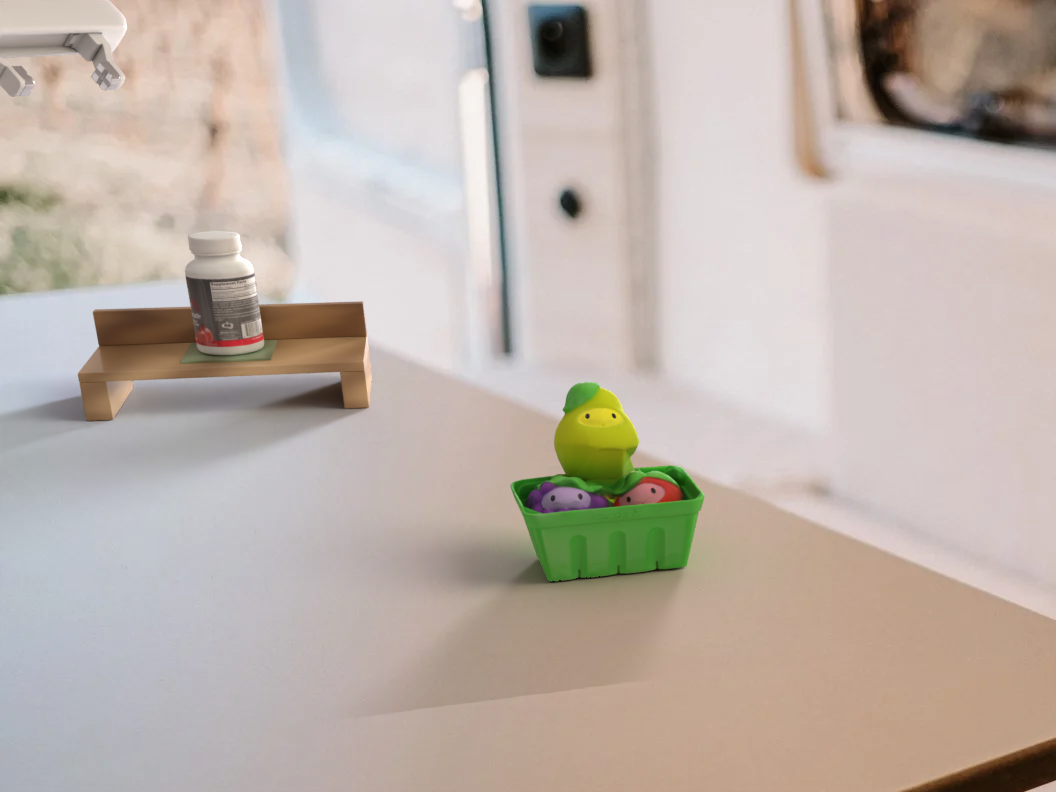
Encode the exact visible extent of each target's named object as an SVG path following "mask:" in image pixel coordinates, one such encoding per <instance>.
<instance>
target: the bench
mask: <svg viewBox="0 0 1056 792" xmlns="http://www.w3.org/2000/svg"><path fill="white" fill-rule="evenodd" d="M259 309H260V315H261V322H262V329H263V336H264V346H263V348H262V349H260V350H258V351H255V352H251V353H246V354H240V355H211V354H206V353H202V352H201V351H199V350H198V348H197V342H196V338H195V331H194V324H193V318H192V313H191V306H166V307H165V306H163V307H133V308H132V307H129V308H102V309H101V308H99V309H94V310H93V311H92V317H93V322H94V327H95V332H96V338H97V344H98V347H97V348H96V349H95V351H93V353H92V354H91V356H90V357H89V358H88V360H87V361H86V362H85V363H84V365H83V366H82V367H81V369H80V370H79V371H78V372H77V378H78V383H79V388H80V394H81V400H82V404H83V410H84V415H85V420H86V422H93V421H95V422H96V421H113V420H114V419H115V417H116V416H117V414H118V413H119V411H120V409H121V408H122V406H123V405H124V403H125V401H126V400H127V398H128V397H129V396H130V394H131V392H132V390H133V389H134V382H135V381H156V380H178V379H179V380H180V379H205V378H227V377H252V376H253V377H254V376H279V375H298V374H299V375H300V374H301V375H303V374H324V373H325V374H326V373H339V375H340V383H341V391H342V399H343V406H344V409H365V408H367V409H368V408H370V403H371V402H370V401H371V393H370V392H371V391H372V383H371V381H372V382H373V372H372V364H371V354H370V347H369V339H368V337H369V336H368V329H367V322H366V321H367V320H366V313H365V304H364V301H362V300H361V301H334V302H300V303H299V302H298V303H295V302H294V303H267V304H264V303H263V304H259ZM133 381H134V382H133Z"/></svg>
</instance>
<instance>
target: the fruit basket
mask: <svg viewBox="0 0 1056 792" xmlns="http://www.w3.org/2000/svg"><path fill="white" fill-rule="evenodd" d="M565 396H566V397H565V403H564V406H563V408H562V411H563V413H564V414H563V416H562V418H561V420H560V421H559V422H558V424H557V427H556V429H555V433H554V439H553V446H554V451H555V454H556V457H557V459H558V462H559V464H560V466H561V468H562V470H563V472H564V473H557V474H554V475H546V476H540V477H530V478H523V479H518V480H515V481H513V482H512V483H510V490H511V492H512V495H513V498H514V500H515V502H516V504H517V507H518V508H519V510H520V513H521V515H522V517H523V521H524V523H525V526H526V529H527V531H528V534H529V537H530V541H531V543H532V546H533V549H534V552H535V554H536V557H537V559H538V561H539V564H540V566H541V569H542V571H543V573H544V574H545V578H546V580H547V581H548V582H550V581H551V582H552V581H555V582H562V581H572V580H577V579H579V578H581V579H583V578H584V579H590V577H591V578H599V576H600V577H607V576H613V575H617V574H636V573H644V572H649V571H650V572H651V571H655V570H670V569H680V568H685V567H687V566H688V562H689V557H690V553H691V549H692V544H693V540H694V535H695V530H696V526H697V522H698V517H699V512H700V511H701V510H702V508H703V504H704V500H705V496H706V495H705V493H704V492H703V491H702V489H701V488H700V487H699V486H698V485H697V483H696V482H695V481H694V480H693V478H692V477H691V475H690V474H689V473H688V472H687V471H686V469H685V468H684V467H682V466H679V465H657V466H643V467H634V464H633V461H632V459H631V457H632V456H633V455H634V454H635V453H636V451H637V449H638V446H639V444H640V438H639V435H638V432H637V429H636V427H635V425H634V423H633V422H632V420H631V419H630V418H629V416H628V415H627V414H626V413H625V410H624V408H623V404H622V403H621V401H620V400H619V398H618V397H617V395H616V394H615V393H613V392H612V391H611V390H609V389H607V388H604V387H602V386H600V384H599V383H598V382H591V381H585V382H577V383H574V385H572V386H571V387H570V389H569V390H568V392H567V393H566V395H565ZM578 577H579V578H578ZM586 577H587V578H586ZM576 578H577V579H576ZM559 580H561V581H559ZM552 583H553V582H552Z"/></svg>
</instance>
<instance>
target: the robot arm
mask: <svg viewBox="0 0 1056 792" xmlns="http://www.w3.org/2000/svg"><path fill="white" fill-rule="evenodd" d="M127 30H128V25H127V19H126V17H125V15H124V14H123V13H122V12H121V10H119V9H118V8H117V6H116V5H114V3H112V1H111V0H0V87H1V88H2V90H4V91H5V92H6V93H7V95H8V96H9V97H11V98H15V97H26V96H30V94H31V93H32V92H31V91H32V90H33V89H34V88H35V86H36V84H35V83H36V82H35V80H34V78H33V77H32V76H31V75H29V74H28V72H27V70H26V69H25V68H24V67H23V66H22V65H13V64H11V63H10V62H9V61H8V60H7V59H14V58H16V59H17V58H37V57H38V58H39V57H41V58H42V57H61V56H81V57H82V58H83V60H85V61H86V62H87V63H88V62H92V64H93V67H94V70H93V72H92V74H91V75H90V78H91V79H92V80H93V81H94V82H95V84H97V85H98V86H99V88H100V89H101V90H102V91H117V90H118V91H119V90H120V89H121V88H122V86H123V84H124V83H125V81H126V76H125V73H123V71H122V70H121V69H120V67H118V65H117V64H116V63H115V62H114V61H115V60H114V56H113V52H114V51H115V50H116V49H117V47H119V44H120V43H121V41H122V40H123V38H124V36H125V34H126V32H127Z"/></svg>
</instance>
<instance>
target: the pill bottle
mask: <svg viewBox="0 0 1056 792" xmlns="http://www.w3.org/2000/svg"><path fill="white" fill-rule="evenodd" d="M187 241H188V247H189V251H190V253H191V254H192V255H193V256H194V259H193V260H190V261H189V262H188V263H186V265H185V266H184V274H185V275H184V276H185V281H186V287H187V294H188V300H189V307H191V313H192V318H193V324H194V331H195V338H196V342H197V348H198V350H199V351H201V352H202V353H206V354H211V355H240V354H246V353H251V352H255V351H258V350H260V349H262V348H263V346H264V336H263V329H262V322H261V315H260V309H259V305H260V302H259V295H258V287H257V286H258V285H257V280H256V273H255V268H254V265H253V263H252V262H251V261H249V260H248V259H246V258H243V257H242V256H241V252H242V251H243V249H242V248H243V246H242V241H241V236H240V233H239V232H236V231H227V230H207V231H201V232H200V231H198V232H193V233H190V234H188V237H187Z"/></svg>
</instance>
